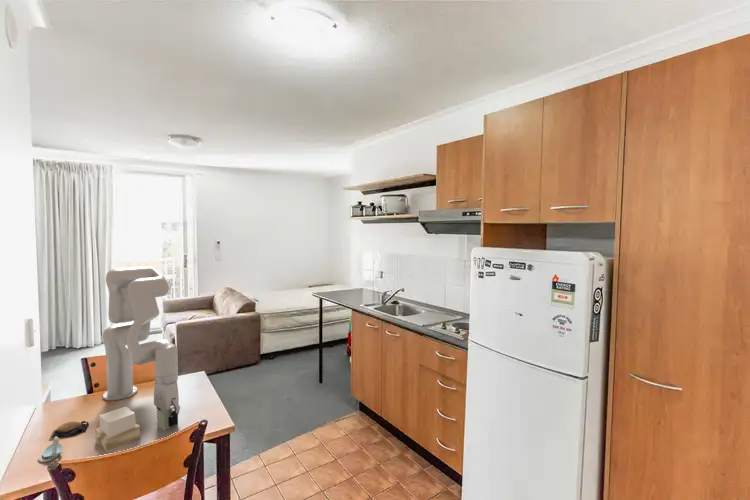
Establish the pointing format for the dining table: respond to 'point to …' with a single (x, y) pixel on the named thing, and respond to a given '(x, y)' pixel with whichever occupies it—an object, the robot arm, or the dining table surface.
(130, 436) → the tower base
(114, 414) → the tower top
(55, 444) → the pacifier
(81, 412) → the dining table surface
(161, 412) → the sage block
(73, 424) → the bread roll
